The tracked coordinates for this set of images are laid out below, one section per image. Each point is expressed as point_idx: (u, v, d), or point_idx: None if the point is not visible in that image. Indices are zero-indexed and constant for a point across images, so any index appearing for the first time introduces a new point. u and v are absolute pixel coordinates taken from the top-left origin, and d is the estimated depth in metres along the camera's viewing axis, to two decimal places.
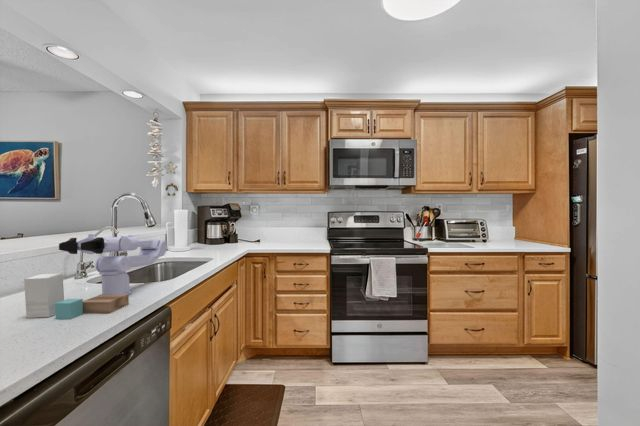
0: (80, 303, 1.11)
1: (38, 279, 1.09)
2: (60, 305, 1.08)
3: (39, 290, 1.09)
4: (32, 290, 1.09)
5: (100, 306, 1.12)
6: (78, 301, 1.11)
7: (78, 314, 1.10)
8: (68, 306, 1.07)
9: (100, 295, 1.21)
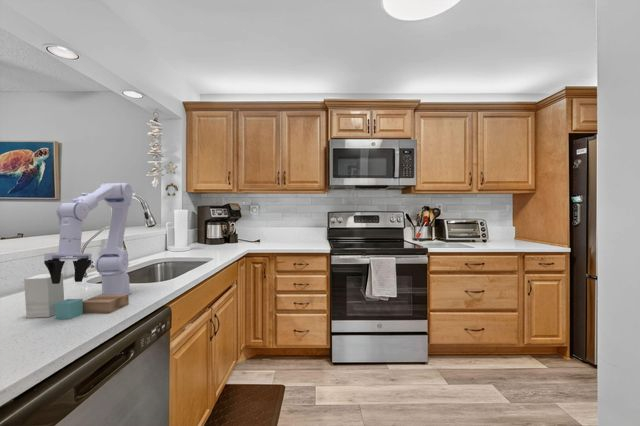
0: (80, 303, 1.11)
1: (38, 279, 1.09)
2: (60, 305, 1.08)
3: (39, 290, 1.09)
4: (32, 290, 1.09)
5: (100, 306, 1.12)
6: (78, 301, 1.11)
7: (78, 314, 1.10)
8: (68, 306, 1.07)
9: (100, 295, 1.21)
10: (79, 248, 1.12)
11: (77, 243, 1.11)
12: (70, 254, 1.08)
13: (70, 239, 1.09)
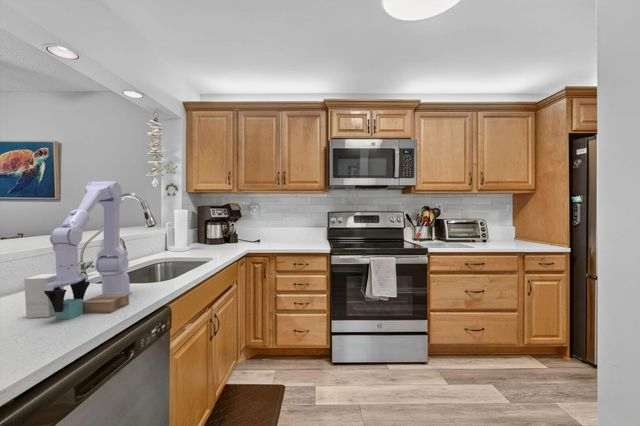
0: (80, 303, 1.11)
1: (38, 279, 1.09)
2: None
3: (39, 290, 1.09)
4: (32, 290, 1.09)
5: (101, 306, 1.12)
6: (78, 301, 1.11)
7: (78, 314, 1.10)
8: (68, 306, 1.07)
9: (100, 295, 1.21)
10: (77, 273, 1.10)
11: (75, 269, 1.09)
12: (70, 281, 1.08)
13: (68, 266, 1.08)
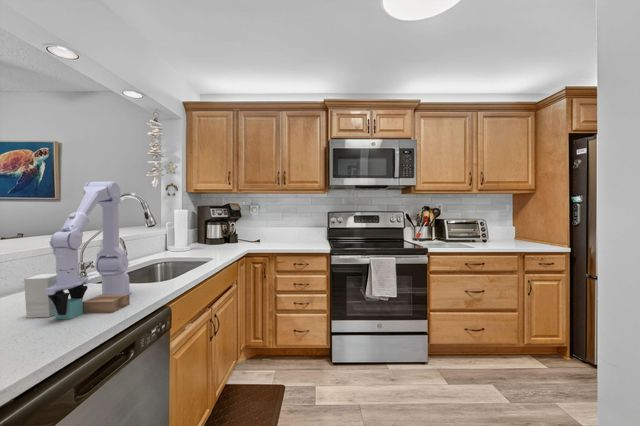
0: (80, 303, 1.11)
1: (38, 279, 1.09)
2: None
3: (39, 290, 1.09)
4: (32, 290, 1.09)
5: (103, 305, 1.12)
6: (78, 301, 1.11)
7: (78, 314, 1.10)
8: (68, 305, 1.07)
9: (100, 295, 1.21)
10: (78, 277, 1.11)
11: (75, 273, 1.09)
12: (70, 285, 1.08)
13: (69, 270, 1.08)
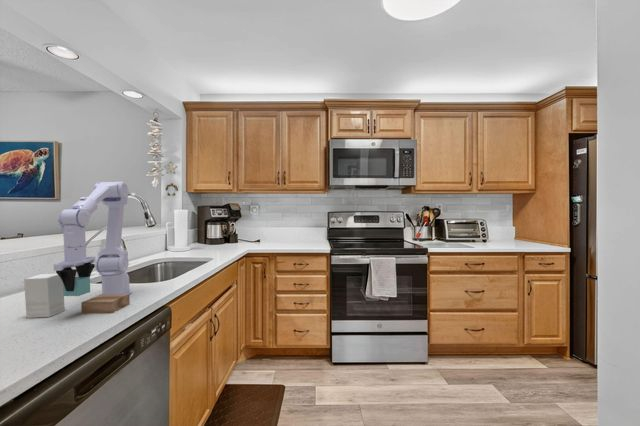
0: (87, 281, 1.13)
1: (38, 279, 1.09)
2: None
3: (39, 290, 1.09)
4: (32, 290, 1.09)
5: (103, 305, 1.12)
6: (85, 279, 1.12)
7: (85, 291, 1.12)
8: (76, 283, 1.09)
9: (100, 295, 1.21)
10: (85, 254, 1.12)
11: (83, 250, 1.11)
12: (78, 262, 1.09)
13: (76, 247, 1.09)
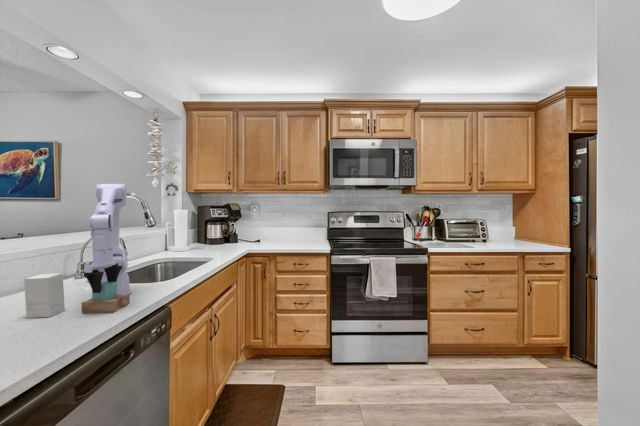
0: (114, 286, 1.18)
1: (38, 279, 1.09)
2: None
3: (39, 290, 1.09)
4: (32, 290, 1.09)
5: (104, 306, 1.13)
6: (113, 284, 1.18)
7: (113, 296, 1.18)
8: (104, 288, 1.15)
9: None
10: (112, 257, 1.18)
11: (110, 253, 1.17)
12: (106, 264, 1.15)
13: (104, 250, 1.15)
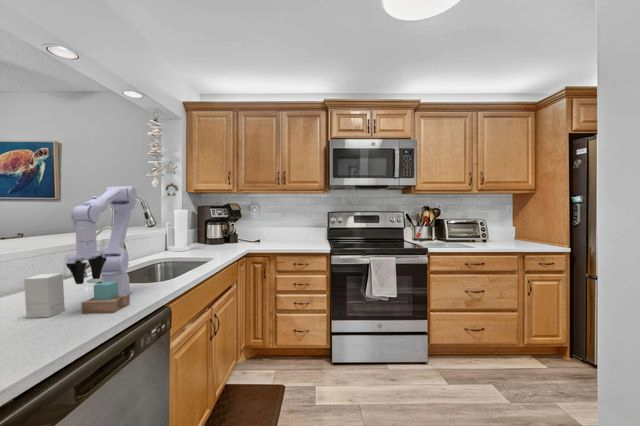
0: (116, 285, 1.19)
1: (38, 279, 1.09)
2: (98, 287, 1.15)
3: (39, 290, 1.09)
4: (32, 290, 1.09)
5: (104, 306, 1.12)
6: (114, 283, 1.18)
7: (114, 296, 1.18)
8: (106, 287, 1.15)
9: None
10: (96, 249, 1.18)
11: (94, 244, 1.17)
12: (90, 256, 1.15)
13: (88, 241, 1.15)
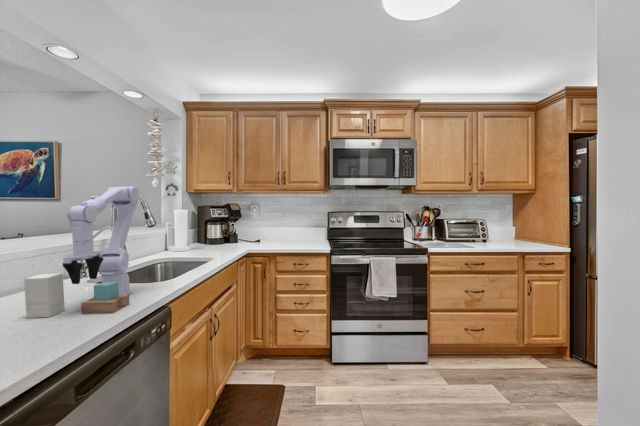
0: (116, 286, 1.18)
1: (38, 279, 1.09)
2: (98, 287, 1.15)
3: (39, 290, 1.09)
4: (32, 290, 1.09)
5: (103, 306, 1.12)
6: (114, 284, 1.18)
7: (114, 296, 1.18)
8: (106, 288, 1.14)
9: None
10: (92, 249, 1.18)
11: (90, 245, 1.17)
12: (86, 256, 1.16)
13: (84, 241, 1.15)
